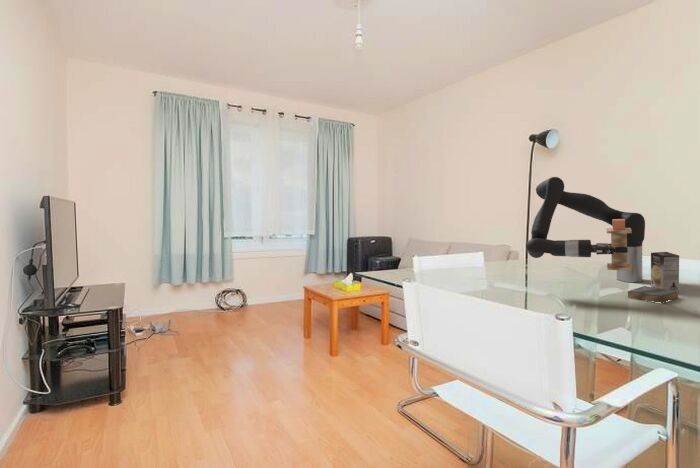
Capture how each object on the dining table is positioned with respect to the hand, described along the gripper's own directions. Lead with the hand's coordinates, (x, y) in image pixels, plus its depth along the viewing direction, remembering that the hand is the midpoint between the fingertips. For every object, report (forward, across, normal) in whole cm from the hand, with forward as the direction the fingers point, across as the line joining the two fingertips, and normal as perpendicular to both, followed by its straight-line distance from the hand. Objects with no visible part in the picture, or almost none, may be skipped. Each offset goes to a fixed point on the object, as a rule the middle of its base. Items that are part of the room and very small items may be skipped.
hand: (626, 248), depth 148 cm
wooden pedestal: (-3, 0, +8) cm, 8 cm away
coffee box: (+14, +22, +22) cm, 35 cm away
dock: (+8, +7, +22) cm, 25 cm away
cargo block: (-3, 0, -8) cm, 8 cm away
